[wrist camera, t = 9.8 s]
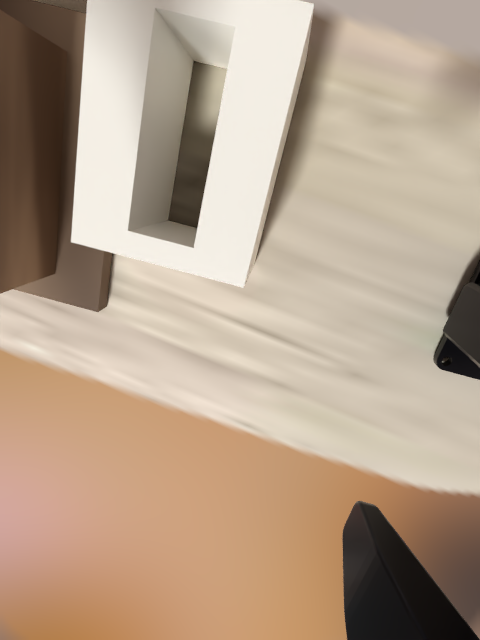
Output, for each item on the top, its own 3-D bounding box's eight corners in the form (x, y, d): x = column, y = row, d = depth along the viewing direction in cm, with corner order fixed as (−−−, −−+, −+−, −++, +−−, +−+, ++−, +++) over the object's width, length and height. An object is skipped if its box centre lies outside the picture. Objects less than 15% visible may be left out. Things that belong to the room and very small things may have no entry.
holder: (306, 60, 15) (314, 3, 11) (254, 263, 19) (243, 287, 14) (149, 22, 16) (90, -50, 11) (124, 229, 19) (70, 241, 14)
